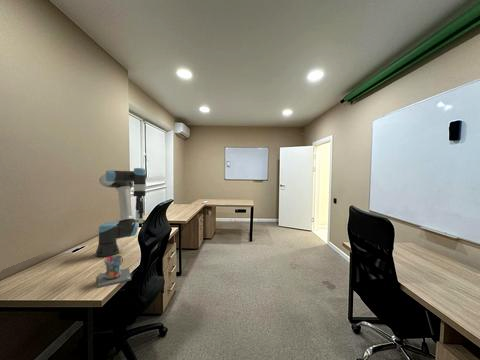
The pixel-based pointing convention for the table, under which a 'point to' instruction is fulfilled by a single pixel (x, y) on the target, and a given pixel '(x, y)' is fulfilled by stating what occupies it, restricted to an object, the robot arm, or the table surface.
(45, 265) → the table surface
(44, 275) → the table surface
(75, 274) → the table surface
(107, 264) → the mug
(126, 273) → the slate board
